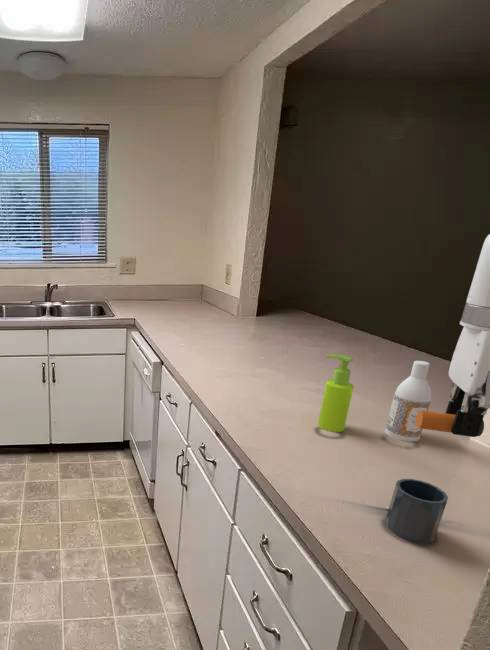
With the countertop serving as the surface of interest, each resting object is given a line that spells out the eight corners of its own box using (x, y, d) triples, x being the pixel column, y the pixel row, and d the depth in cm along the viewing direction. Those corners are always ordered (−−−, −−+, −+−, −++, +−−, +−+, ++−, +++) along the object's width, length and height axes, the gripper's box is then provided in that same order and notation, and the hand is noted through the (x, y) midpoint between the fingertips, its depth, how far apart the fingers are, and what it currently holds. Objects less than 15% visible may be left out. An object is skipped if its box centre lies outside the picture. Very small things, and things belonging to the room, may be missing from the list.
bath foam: (394, 446, 103) (416, 367, 96) (377, 433, 109) (396, 357, 103) (424, 447, 103) (448, 367, 96) (405, 433, 109) (427, 358, 102)
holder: (427, 521, 77) (439, 483, 75) (440, 547, 71) (454, 507, 69) (381, 512, 80) (391, 475, 77) (390, 536, 74) (402, 497, 71)
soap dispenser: (319, 423, 115) (334, 351, 108) (347, 432, 110) (364, 357, 103) (308, 429, 112) (322, 355, 105) (336, 439, 107) (352, 362, 100)
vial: (419, 430, 71) (424, 413, 70) (414, 424, 73) (418, 407, 73) (481, 439, 68) (486, 421, 67) (473, 432, 71) (478, 415, 70)
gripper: (560, 332, 55) (512, 458, 62) (502, 309, 69) (468, 413, 76) (486, 327, 58) (447, 448, 64) (445, 306, 72) (416, 407, 78)
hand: (459, 428), depth 70 cm, fingers closed on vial, 3 cm apart
